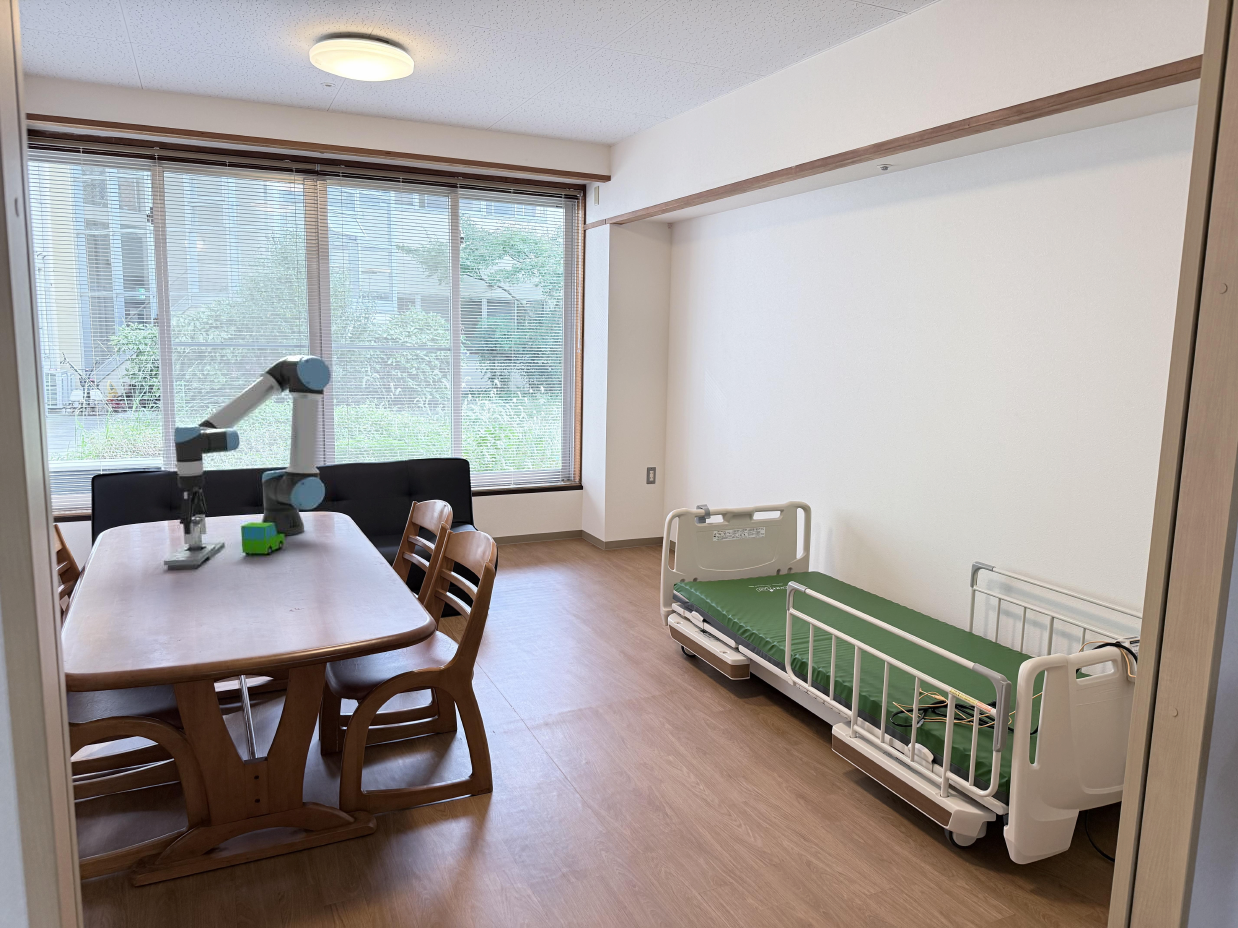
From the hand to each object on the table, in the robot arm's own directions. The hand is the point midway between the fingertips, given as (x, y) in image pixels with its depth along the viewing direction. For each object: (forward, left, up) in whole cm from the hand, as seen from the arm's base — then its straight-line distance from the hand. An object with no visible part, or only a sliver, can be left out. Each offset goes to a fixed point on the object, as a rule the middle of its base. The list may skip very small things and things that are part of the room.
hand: (195, 538), depth 276 cm
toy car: (-20, -5, -6) cm, 21 cm away
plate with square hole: (0, 0, -6) cm, 6 cm away
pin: (0, 0, -6) cm, 6 cm away
